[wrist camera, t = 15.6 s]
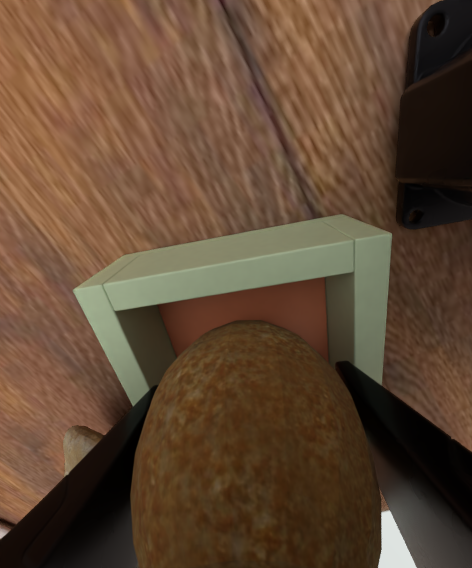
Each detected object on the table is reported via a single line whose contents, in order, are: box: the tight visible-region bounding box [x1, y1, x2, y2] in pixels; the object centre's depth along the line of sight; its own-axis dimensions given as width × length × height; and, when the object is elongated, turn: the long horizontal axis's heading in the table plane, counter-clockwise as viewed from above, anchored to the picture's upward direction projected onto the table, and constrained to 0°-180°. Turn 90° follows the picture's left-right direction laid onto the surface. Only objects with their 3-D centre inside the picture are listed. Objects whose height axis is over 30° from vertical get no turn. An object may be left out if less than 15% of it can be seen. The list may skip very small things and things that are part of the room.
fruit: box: [130, 320, 381, 568], centre depth 7 cm, size 6×6×8 cm
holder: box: [73, 214, 392, 406], centre depth 11 cm, size 10×10×4 cm
